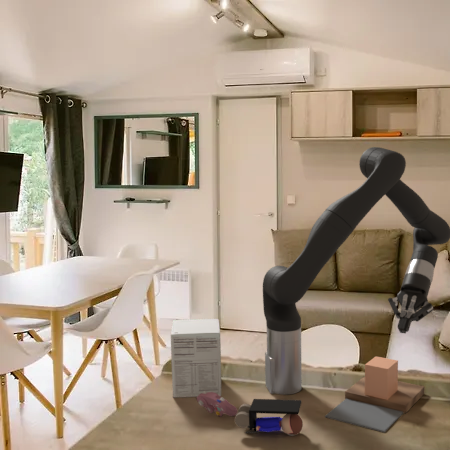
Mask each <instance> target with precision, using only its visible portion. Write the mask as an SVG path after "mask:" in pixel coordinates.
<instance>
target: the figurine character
mask: <svg viewBox="0 0 450 450" xmlns="http://www.w3.org/2000/svg"><path fill="white" fill-rule="evenodd" d="M301 406H302V400H301V399H277V398H275V399H274V398H272V399H269V398H253V400H252V403H251V404H249V403H242V404H241V405H240V406H239V408H238V409H237V415H235V416H234V423H235V425H236V426H237V427H238V428H242V429H244V428H245V429H246V428H248V429H249V430H246V431H244V432H243V433H244V434H257V433H259V432H265V433H270V432H278V431H279V432H281V430H282V431H283V432H284V433H285V434H286V435H287V436H292V437H293V436H296V435H298V434H300V433H301V431H302V429H303V425H304V424H303V423H304V422H303V420H302V417H301V416H300V415H299V413H300V410H301ZM257 414H272V415H283V416H282V417H280V416H267V417H266V416H265V417H262V416H261V417H257Z"/></svg>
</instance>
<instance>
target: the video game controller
mask: <svg viewBox="0 0 450 450" xmlns="http://www.w3.org/2000/svg"><path fill="white" fill-rule="evenodd" d="M196 400H197V403H198V405H199V406H200V407H202V408H204V409H205V410H206V412H208V413H210V414H212V413H215V414H216V416H218V417H220V418H221V417H223V415H227V416H229V417H236V415H237V414H238V408H237V407H236V406H235V405H233V404H231V402H230V401H228V400H227V399H225V398H224V397H223V396H222V395H221V396H219V395H218V394H217V393H214V392H206V391H204V392H203V393H201V394H200V395H199V396H198V397H196Z"/></svg>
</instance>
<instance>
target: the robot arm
mask: <svg viewBox="0 0 450 450" xmlns="http://www.w3.org/2000/svg"><path fill="white" fill-rule="evenodd" d="M406 166H407V163H406V159H405V156H404V155H403V154H402V153H400V152H398V151H395V150H391V149H389V148H383V147H376V146H373V147H369V148H367V149H366V150H364V151H363V153H362V154H361V156H360V158H359V170H360V173H362V175H363V176H364V177H365V179H366V180H365V181H364V182H363V183H362V184H361V185H360V186H359V187H358V188H355V190H353V191H351V192H349V193H348V194H346V195H344V196H342V197H340V198H339V199H336V200H335V201H334V202H332V203H331V204H329V205H328V207H327V208H325V210H324V211H323V213H321V215H320V216H319V217H318V218H317V219H316V221H315V222H314V224H313V225H312V227H311V229H310V232H309V234H308V237H307V239H306V240H307V241H306V244H305V246H304V248H303V250H301V253H300V254H299V255H298V256H297V258H296V259H294V261H293V262H292V263H291V264H290V266H288V267H286V266H284V265H275V266H273V267H271V268H269V269H268V270H267V271H266V273H265V275H264V277H263V281H262V304H263V314H264V317H265V321H266V323H265V324H266V351H265V352H264V360H265V361H264V363H265V365H264V369H265V370H264V371H265V373H264V374H265V377H264V378H265V379H264V381H265V387H266V388H267V390H268V392H269V393H270V394H277V395H292V394H297V393H299V392H301V390H302V389H303V388H302V383H303V382H302V381H303V379H302V317H301V315H300V313H299V312H298V308H297V303H298V302H299V301H300V300H302V298H303V297H304V295H305V294H306V293H307V292H308V290H309V288H310V287H311V286H312V284H313V283H314V281H315V279H316V278H317V276H318V275H319V274H320V272H321V270H322V269H323V268H324V267H325V266H326V265H327V263H328V262H329V261H330V259H331V258H332V257H333V255H335V253H336V252H337V251H338V249H340V247H341V246H342V245H343V244H344V243H345V242H346V240H347V239H348V238H349V236H350V235H352V233H353V232H354V231H355V229H356V228H357V226H359V224H360V223H361V221H363V219H364V218H365V217H366V216H367V215H368V213H369V212H370V211H371V210H372V209H373V208H374V207H375V205H377V203H378V202H379V201H380V200H382V198H383V197H384V196H386V198H388V199H389V200H390V202H392V204H393V205H394V206H395V207H396V209H397V210H398V211H399V212H400V214H401V215H402V216H403V217H404V219H405V220H406V221H407V223H408V224H409V225H410V226H411V227H412V228H413V231H412V235H413V236H412V237H413V239H412V240H413V242H412V243H413V244H412V254H411V257H410V261H409V263H408V265H407V267H406V270H405V274H404V276H403V279H402V284H401V287H400V291H399V292H398V293H397V295H396V296H395V297H393V298H392V297H389V298H388V299H387V301H388V303H389V305H390V307H391V309H392V311H393V313H394V315H395V318H396V319H399V321H398V323H397V329H398V331H399V333H401V334H406V333H407V332H409V331H410V328H411V325H412V322H414V321H415V322H419V321H421V320H422V319H423V318H425V317H426V316H428V315H429V314H430V313H431V312H433V311H434V307H433V305H432V303H431V302H429V301H428V300H429V299H428V296H429V293H430V288H431V284H432V282H433V278H434V272H435V267H436V264H437V261H438V256H439V253H438V251H437V249H436V248H435V247H433V246H435V245H444V244H446V243H448V242H449V241H450V226H449V223H448V222H447V221H446V220H445V219H443V217H441V216H440V215H438V214H437V213H436V212H434V211H432V210H431V209H430V208H429V206H428V205H427V203H426V202H425V201H424V199H422V197H421V196H420V195H419V194H418V193H417V192H415V190H414V189H412V188H411V187H410V186H408V185H407V184H406V183H405V182H404V181H403V180H402V179H401V178H402V176H403V175H404V173H405V171H406ZM398 303H399V305H400V307H401V308H400V311H399V309H398V308H397V306H398Z"/></svg>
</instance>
